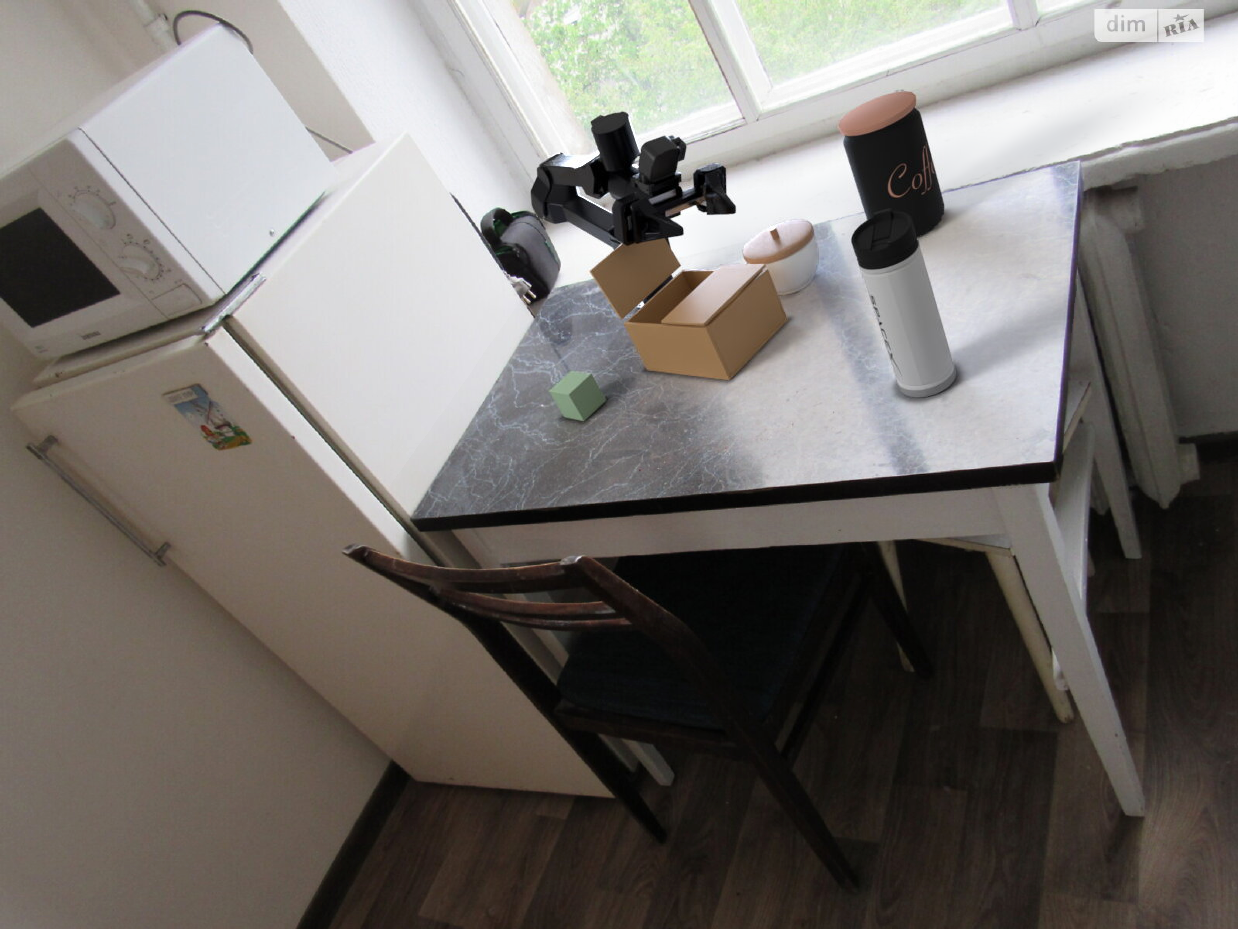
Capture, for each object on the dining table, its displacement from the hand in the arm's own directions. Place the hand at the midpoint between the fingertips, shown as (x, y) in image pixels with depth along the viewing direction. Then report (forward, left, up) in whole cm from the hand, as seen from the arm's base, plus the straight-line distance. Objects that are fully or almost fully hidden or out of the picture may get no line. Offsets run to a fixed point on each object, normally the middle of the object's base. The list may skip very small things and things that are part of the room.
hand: (709, 220), depth 118 cm
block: (-16, -22, -17) cm, 33 cm away
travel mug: (+33, -8, -17) cm, 38 cm away
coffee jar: (+11, +26, -17) cm, 33 cm away
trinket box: (0, +11, -17) cm, 20 cm away
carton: (-3, -5, -17) cm, 18 cm away
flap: (-12, -5, -4) cm, 14 cm away
